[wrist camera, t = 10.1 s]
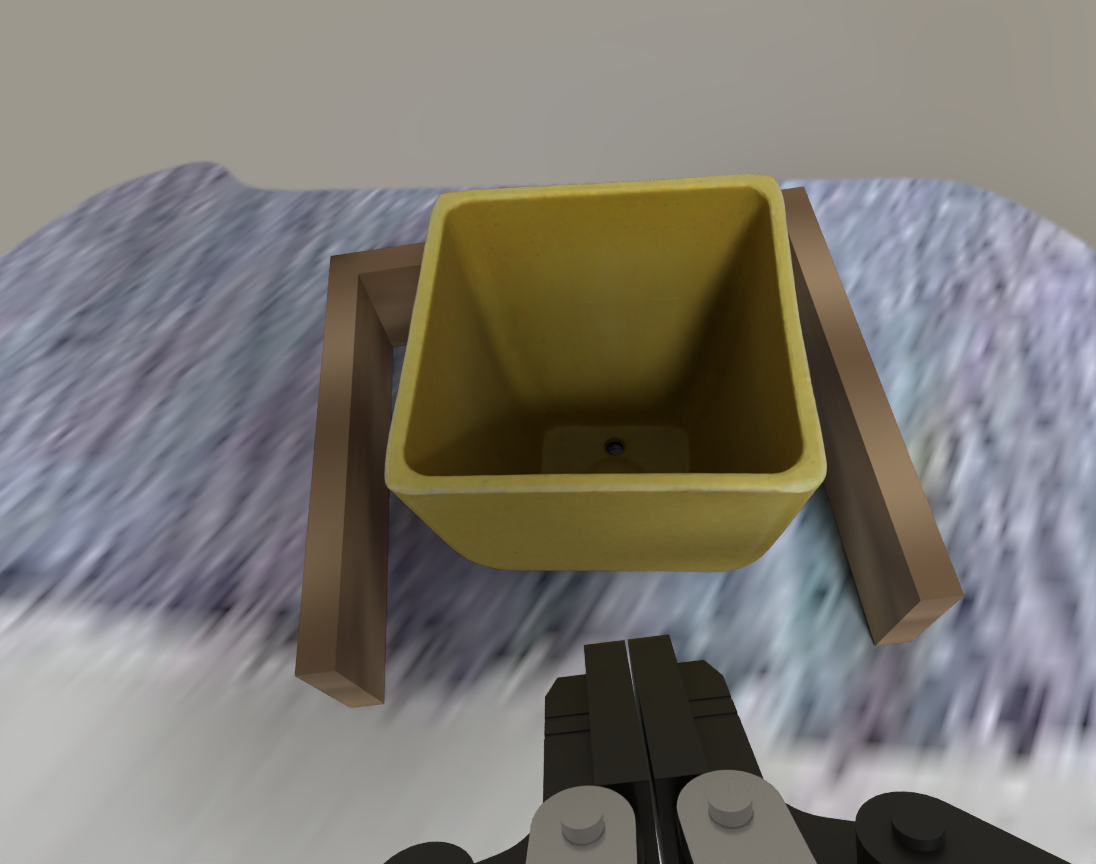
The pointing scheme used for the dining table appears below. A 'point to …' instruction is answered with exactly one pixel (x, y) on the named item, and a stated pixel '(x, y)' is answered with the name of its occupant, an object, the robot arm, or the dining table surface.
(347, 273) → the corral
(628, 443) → the flower pot
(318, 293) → the dining table surface
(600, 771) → the robot arm
